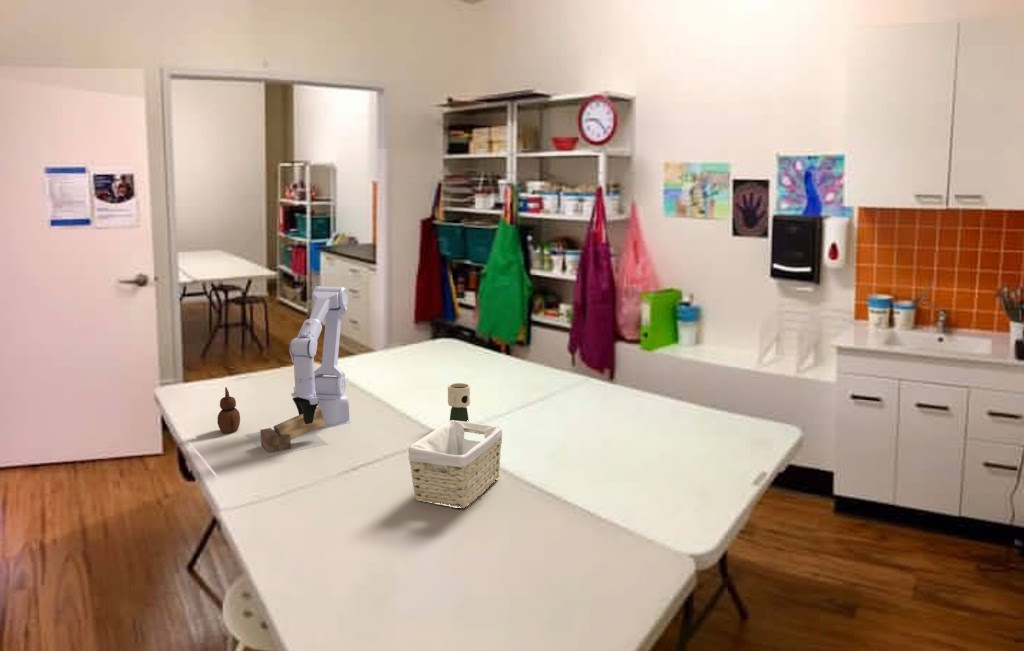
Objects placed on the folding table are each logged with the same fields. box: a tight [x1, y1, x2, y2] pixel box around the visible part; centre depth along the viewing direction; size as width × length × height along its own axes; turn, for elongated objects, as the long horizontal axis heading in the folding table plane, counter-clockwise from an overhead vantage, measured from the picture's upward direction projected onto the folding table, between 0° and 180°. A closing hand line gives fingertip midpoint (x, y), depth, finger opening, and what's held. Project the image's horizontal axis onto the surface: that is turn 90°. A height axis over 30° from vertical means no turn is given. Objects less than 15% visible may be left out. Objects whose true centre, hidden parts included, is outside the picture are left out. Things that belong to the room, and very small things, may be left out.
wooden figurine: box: [216, 386, 241, 435], centre depth 244 cm, size 7×6×15 cm
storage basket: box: [407, 419, 503, 509], centre depth 202 cm, size 24×16×15 cm
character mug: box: [447, 382, 471, 422], centre depth 253 cm, size 11×7×13 cm, turn 157°
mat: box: [245, 428, 329, 457], centre depth 239 cm, size 18×22×1 cm
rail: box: [273, 406, 325, 440], centre depth 235 cm, size 14×3×5 cm, turn 124°
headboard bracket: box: [259, 427, 291, 453], centre depth 231 cm, size 6×7×5 cm
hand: (306, 421), depth 236 cm, fingers closed on rail, 3 cm apart
